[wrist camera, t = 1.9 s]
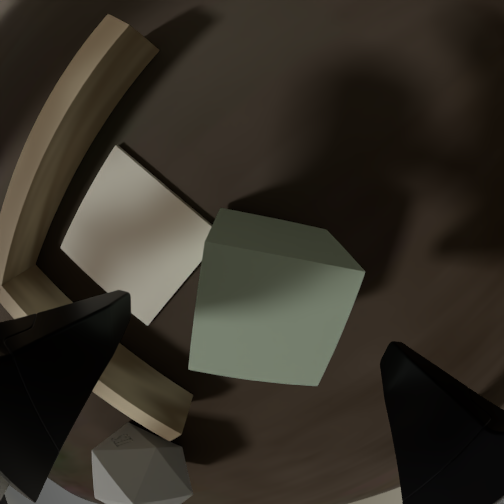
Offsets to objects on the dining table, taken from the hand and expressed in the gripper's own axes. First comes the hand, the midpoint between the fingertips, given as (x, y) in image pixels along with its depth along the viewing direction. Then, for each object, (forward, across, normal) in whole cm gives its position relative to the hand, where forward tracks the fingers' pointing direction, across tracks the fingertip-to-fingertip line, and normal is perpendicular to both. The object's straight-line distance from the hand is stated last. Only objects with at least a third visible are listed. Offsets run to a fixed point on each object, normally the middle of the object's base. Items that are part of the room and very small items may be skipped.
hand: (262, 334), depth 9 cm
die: (+6, +6, +18) cm, 20 cm away
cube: (+5, 0, 0) cm, 5 cm away
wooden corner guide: (+6, +6, +1) cm, 8 cm away
